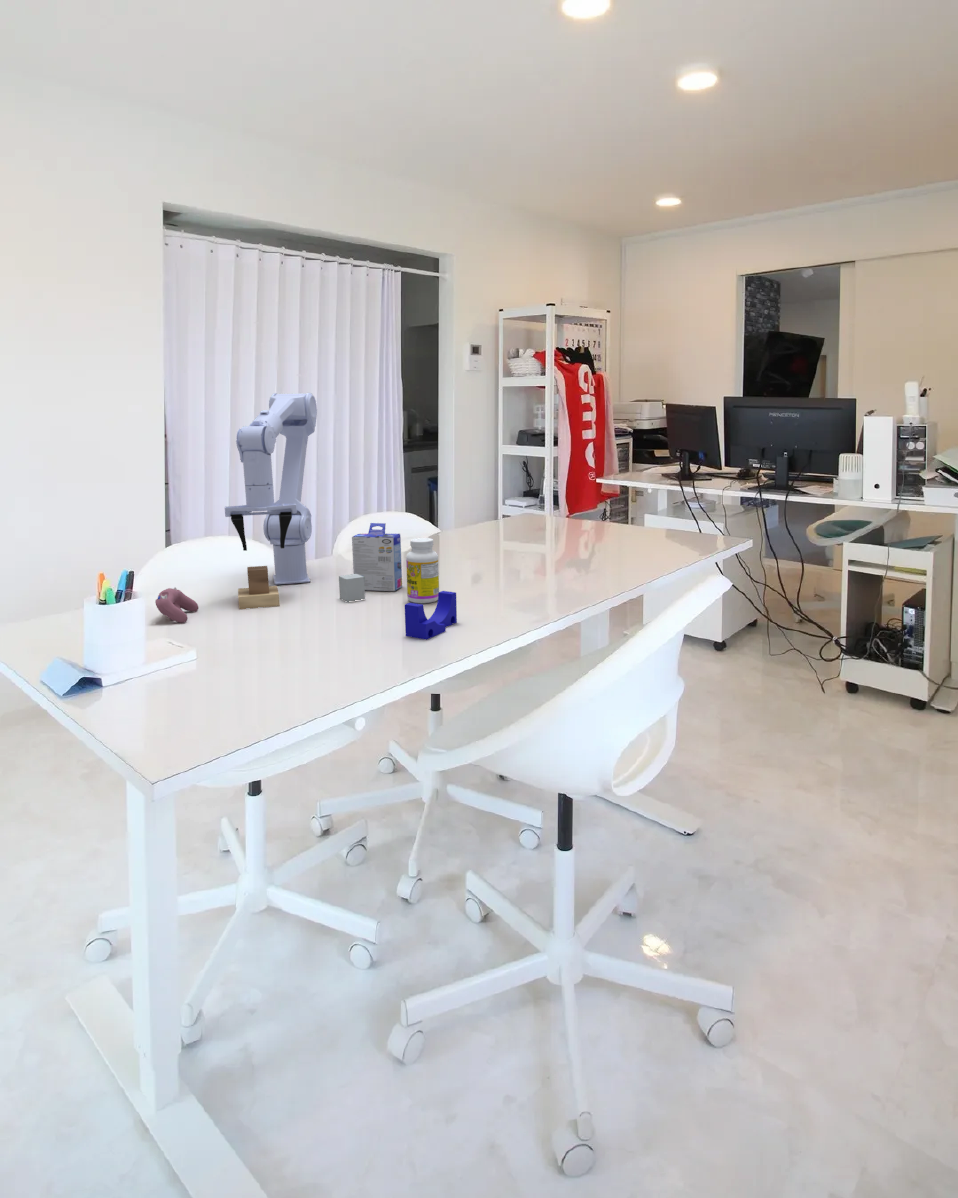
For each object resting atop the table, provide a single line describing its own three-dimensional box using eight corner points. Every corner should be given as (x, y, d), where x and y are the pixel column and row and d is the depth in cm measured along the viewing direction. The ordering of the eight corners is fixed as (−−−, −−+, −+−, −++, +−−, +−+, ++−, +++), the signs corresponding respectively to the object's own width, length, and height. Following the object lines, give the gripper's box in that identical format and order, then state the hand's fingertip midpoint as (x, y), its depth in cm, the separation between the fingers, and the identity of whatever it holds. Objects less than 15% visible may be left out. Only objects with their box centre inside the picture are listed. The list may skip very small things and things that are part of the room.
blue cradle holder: (426, 640, 142) (425, 607, 140) (405, 637, 144) (404, 604, 142) (463, 624, 151) (462, 593, 150) (443, 621, 154) (442, 590, 152)
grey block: (340, 599, 172) (338, 575, 171) (357, 596, 174) (356, 573, 173) (347, 602, 168) (346, 579, 167) (365, 600, 170) (363, 576, 169)
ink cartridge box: (403, 586, 182) (401, 522, 179) (396, 592, 177) (393, 526, 173) (361, 585, 184) (358, 522, 181) (353, 590, 179) (350, 525, 175)
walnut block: (249, 590, 169) (247, 566, 168) (268, 589, 170) (267, 565, 169) (249, 594, 165) (247, 570, 164) (269, 593, 166) (267, 569, 165)
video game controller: (181, 618, 164) (162, 589, 162) (201, 608, 163) (182, 578, 162) (167, 632, 154) (147, 601, 152) (188, 621, 154) (168, 589, 152)
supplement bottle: (403, 598, 171) (401, 538, 168) (432, 595, 174) (431, 536, 170) (413, 605, 165) (411, 543, 162) (443, 602, 168) (442, 540, 165)
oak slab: (239, 602, 172) (238, 588, 171) (278, 599, 174) (277, 585, 173) (239, 611, 164) (238, 597, 163) (279, 608, 166) (278, 593, 166)
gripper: (222, 487, 163) (228, 554, 166) (295, 484, 167) (300, 549, 170) (222, 484, 170) (228, 548, 173) (293, 481, 174) (297, 544, 177)
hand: (263, 548), depth 172 cm, fingers open, 7 cm apart
